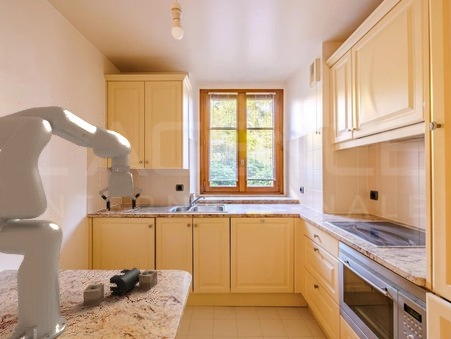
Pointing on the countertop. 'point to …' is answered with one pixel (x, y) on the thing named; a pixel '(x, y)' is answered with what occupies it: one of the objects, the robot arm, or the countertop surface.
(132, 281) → the black arched block
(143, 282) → the marked block
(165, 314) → the countertop surface
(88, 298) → the marked block
